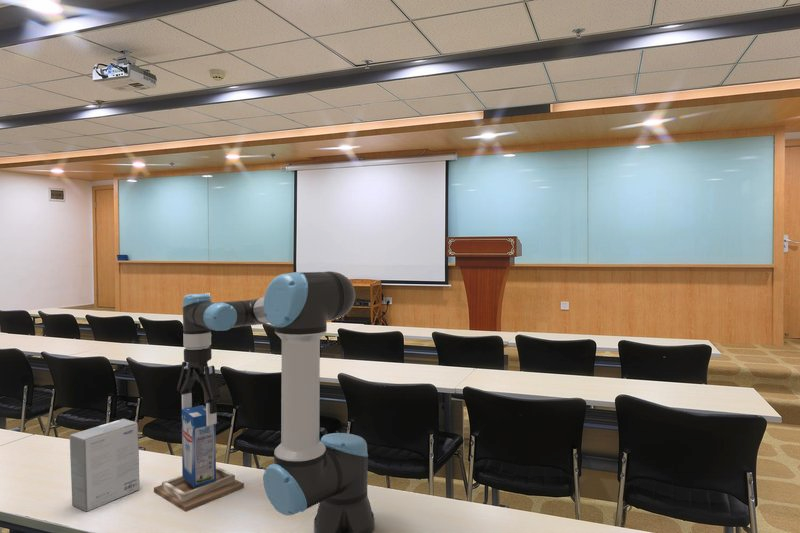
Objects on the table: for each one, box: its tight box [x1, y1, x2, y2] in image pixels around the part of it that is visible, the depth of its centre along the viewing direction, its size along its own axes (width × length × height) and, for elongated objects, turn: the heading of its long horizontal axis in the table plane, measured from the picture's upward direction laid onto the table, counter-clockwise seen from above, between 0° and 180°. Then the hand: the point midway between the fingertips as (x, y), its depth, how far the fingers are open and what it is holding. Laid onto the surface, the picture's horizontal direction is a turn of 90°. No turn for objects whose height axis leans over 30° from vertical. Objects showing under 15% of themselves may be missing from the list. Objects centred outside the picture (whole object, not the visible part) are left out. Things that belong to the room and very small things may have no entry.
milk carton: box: [181, 404, 217, 488], centre depth 148 cm, size 10×6×20 cm, turn 41°
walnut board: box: [153, 465, 245, 512], centre depth 148 cm, size 18×18×3 cm
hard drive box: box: [69, 418, 141, 513], centre depth 143 cm, size 16×8×20 cm, turn 149°
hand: (198, 420), depth 148 cm, fingers open, 13 cm apart
